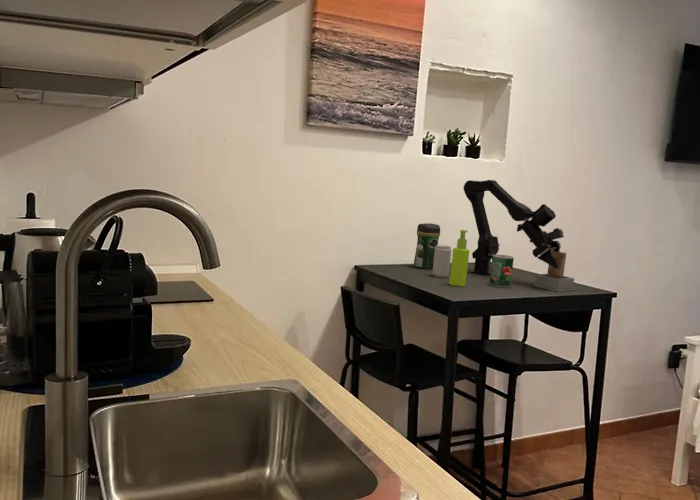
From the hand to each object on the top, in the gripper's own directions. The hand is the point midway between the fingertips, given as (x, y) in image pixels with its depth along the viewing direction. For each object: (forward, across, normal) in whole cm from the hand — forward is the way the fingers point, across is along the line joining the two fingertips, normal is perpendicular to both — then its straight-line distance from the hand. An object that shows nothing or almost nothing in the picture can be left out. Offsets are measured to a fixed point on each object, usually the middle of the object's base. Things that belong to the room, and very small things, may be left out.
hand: (560, 266), depth 242 cm
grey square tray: (+5, 0, +7) cm, 9 cm away
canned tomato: (-6, -15, +19) cm, 25 cm away
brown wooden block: (+4, 0, +6) cm, 8 cm away
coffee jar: (-32, -5, +44) cm, 55 cm away
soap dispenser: (-14, -29, +26) cm, 42 cm away
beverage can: (-22, -19, +35) cm, 45 cm away
